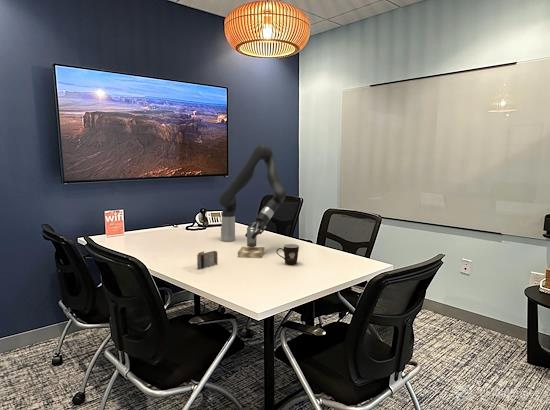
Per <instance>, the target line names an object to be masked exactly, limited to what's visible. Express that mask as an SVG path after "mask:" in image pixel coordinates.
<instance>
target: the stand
mask: <svg viewBox="0 0 550 410" xmlns="http://www.w3.org/2000/svg"><path fill="white" fill-rule="evenodd" d="M264 254H265V247H264V246H255V247H248V246H241V247H240V249H239V250H237V258H247V259H248V258H251V259H262V258H263V257H264Z"/></svg>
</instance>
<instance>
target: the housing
mask: <svg viewBox="0 0 550 410" xmlns="http://www.w3.org/2000/svg"><path fill="white" fill-rule="evenodd" d="M247 228H248V227H247ZM247 228H246V233H247V237H246V247H257V237H256V238H255V239H252V238H251V237H252V235H253V234H254V232H255V231H256V229H255V227H249V228H248V229H247Z"/></svg>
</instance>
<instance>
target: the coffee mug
mask: <svg viewBox="0 0 550 410" xmlns="http://www.w3.org/2000/svg"><path fill="white" fill-rule="evenodd" d="M282 246H283V248H282V247H279V248H277V249H276V254H277V255H278V257H280V258H283V260H284V264H285V265H287V266H296V265H297V264H298V258H299V249H300V245H299V244H295V243H286V244H283V245H282ZM280 250H282V252H283V255H284V256H283V255H280V253H278V251H280Z"/></svg>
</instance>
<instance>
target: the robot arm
mask: <svg viewBox="0 0 550 410" xmlns="http://www.w3.org/2000/svg"><path fill="white" fill-rule="evenodd" d="M261 160H262V161H264V163H265V165H266V177H267V178H266V179H267V181H268V183H269V186H270V188H271V189H272V190H273V193H274V194H273V196H272V198H271V199H270V200H269V201H268V202H267V203H266V204H265V206H264V207H263V208H262V209H261V210H260V212H259V213H258V214H257V216H256V218H255V221H254V222H253V221H250V223H249V225H248V226H247V228H246V230H247V229H248V228H249V227H255V229H256V231H255V232H254V234H253V235H252V237H251V238H252V239H255V238H256V239H257V236H258V235H262V233H264V232H265V230H267V225H268V223H269V221H271V218H272V217H273V216H274V214H275V212H276V211H277V210H278V208H279V207H280V206H281V204H283V202H284V201H285V199H286V195H287V194H286V193H287V192H286V189H285V188H284V185H283V184H282V182H281V179H280V177H279V173H278V172H277V167H276V164H275V159H274V153H273V150H272V148H271V147H269V146H267V145H264V144H259V145H256V147H255V148H254V149H253V151H252V153H251V155H250V156H249V158H248V160H247V161H246V163H245V164H244V166H243V167H242V168H241V169H240V170H239V172H238V174H237V175H236V176H235V177H234V179H233V180H232V182H231V183H230V184H229V186H228V187H227V188H226V189H225V191H224V192H222V194H221V195H220V197H219V205H220V206H221V207H224V208H223V210H222V212H221V227H220V241H221V242H226V243H227V242H235V240H236V213H237V197H236V195H237V194H238V193H239V192H241V190H243V189H244V188H245V187H246V186H248V184H249V183H250V182H251V180H252V179H253V177H254V175H255V169H256V166H257V165H258V164H259V162H260V161H261ZM244 236H245V238H247V232H246V233H245V235H244Z"/></svg>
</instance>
